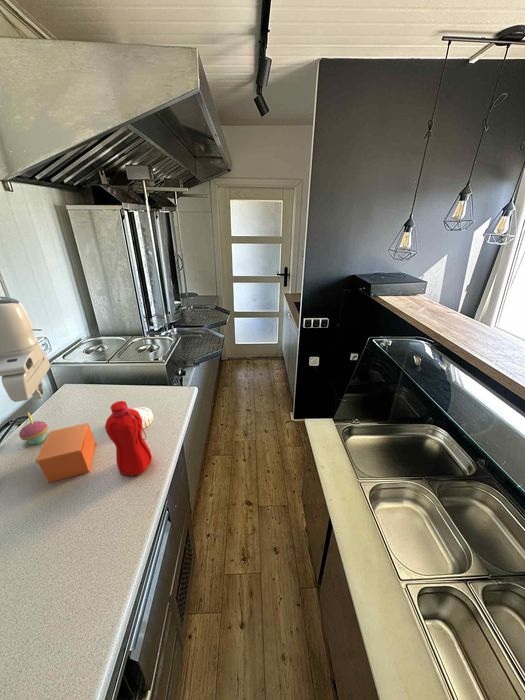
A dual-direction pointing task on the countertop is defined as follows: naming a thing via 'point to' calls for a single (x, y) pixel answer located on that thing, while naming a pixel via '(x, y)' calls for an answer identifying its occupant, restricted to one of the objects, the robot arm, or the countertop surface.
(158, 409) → the countertop surface
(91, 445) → the box
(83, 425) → the box lid
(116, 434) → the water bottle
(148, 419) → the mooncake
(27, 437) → the cupcake
